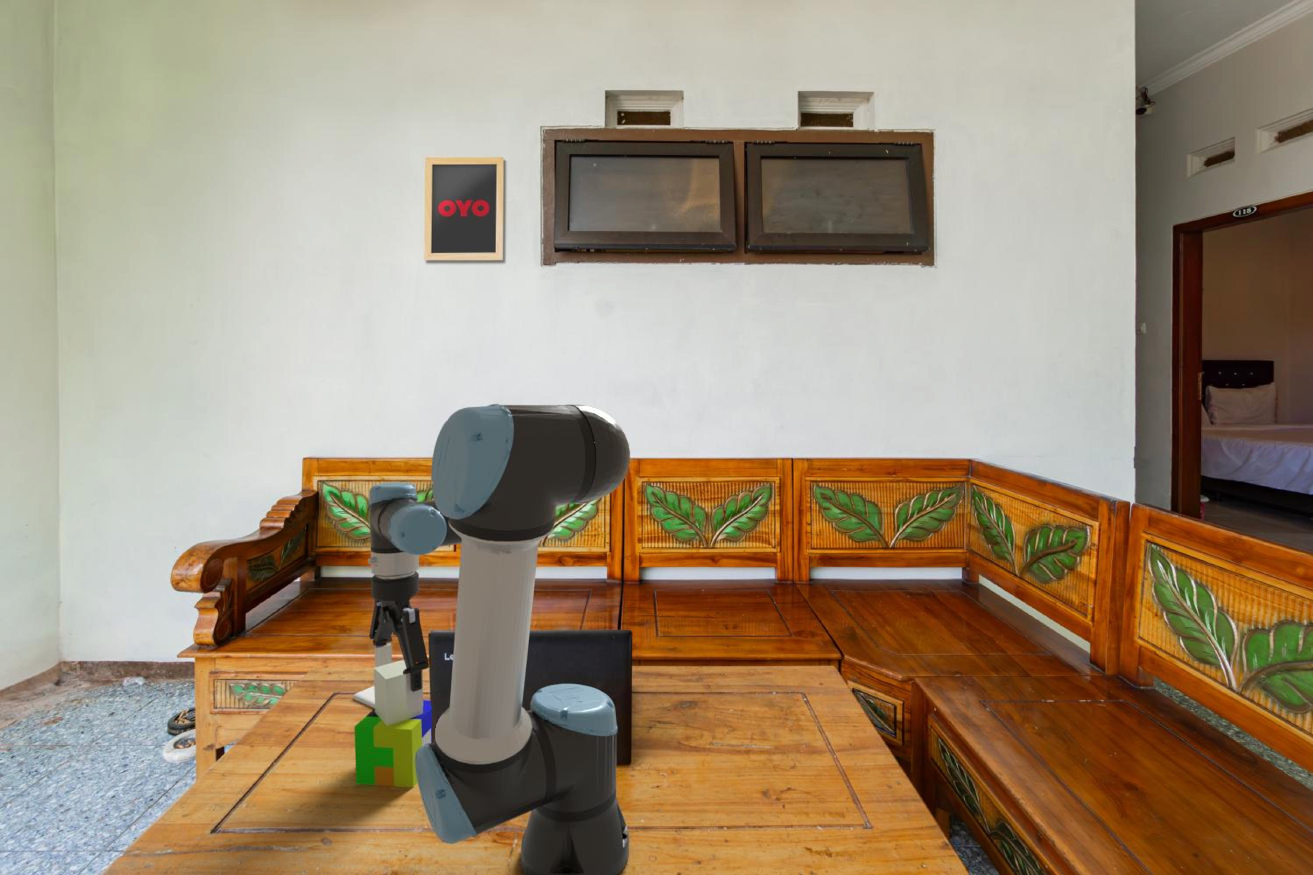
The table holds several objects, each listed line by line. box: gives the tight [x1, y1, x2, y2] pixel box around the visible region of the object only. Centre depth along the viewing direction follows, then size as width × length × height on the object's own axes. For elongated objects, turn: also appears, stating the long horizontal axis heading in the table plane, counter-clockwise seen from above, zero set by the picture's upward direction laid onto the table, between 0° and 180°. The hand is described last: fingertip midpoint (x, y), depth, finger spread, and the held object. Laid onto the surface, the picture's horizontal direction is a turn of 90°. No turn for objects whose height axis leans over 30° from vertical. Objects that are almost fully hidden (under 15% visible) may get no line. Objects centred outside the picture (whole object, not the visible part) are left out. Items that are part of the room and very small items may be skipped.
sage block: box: [373, 659, 423, 726], centre depth 109 cm, size 6×6×8 cm
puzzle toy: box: [354, 699, 432, 788], centre depth 110 cm, size 10×10×10 cm
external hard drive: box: [353, 685, 375, 709], centre depth 136 cm, size 2×8×12 cm
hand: (398, 693), depth 110 cm, fingers open, 13 cm apart
